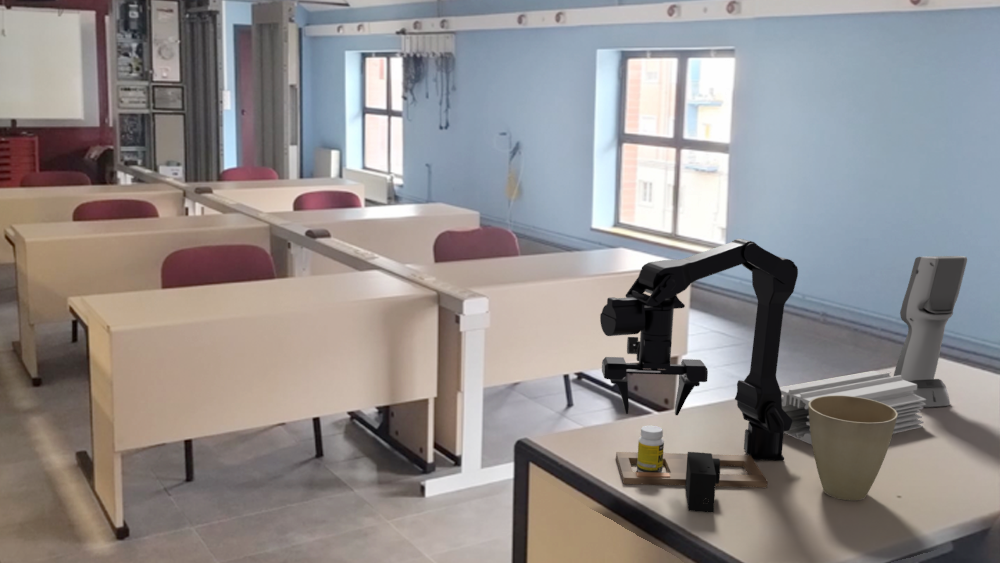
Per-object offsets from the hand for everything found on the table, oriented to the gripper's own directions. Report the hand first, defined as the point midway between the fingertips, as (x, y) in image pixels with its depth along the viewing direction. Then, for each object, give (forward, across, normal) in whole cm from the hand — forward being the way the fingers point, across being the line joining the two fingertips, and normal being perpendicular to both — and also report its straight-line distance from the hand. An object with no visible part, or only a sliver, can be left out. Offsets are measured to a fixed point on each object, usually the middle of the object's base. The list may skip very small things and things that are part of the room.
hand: (651, 414), depth 186 cm
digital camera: (+12, -8, +13) cm, 19 cm away
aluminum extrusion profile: (+12, -47, -28) cm, 56 cm away
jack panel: (+11, -8, 0) cm, 14 cm away
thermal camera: (+11, -70, -50) cm, 87 cm away
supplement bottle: (+12, 0, 0) cm, 12 cm away
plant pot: (+11, -34, +8) cm, 37 cm away
